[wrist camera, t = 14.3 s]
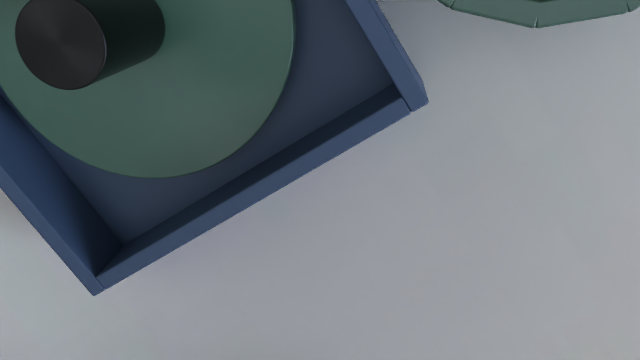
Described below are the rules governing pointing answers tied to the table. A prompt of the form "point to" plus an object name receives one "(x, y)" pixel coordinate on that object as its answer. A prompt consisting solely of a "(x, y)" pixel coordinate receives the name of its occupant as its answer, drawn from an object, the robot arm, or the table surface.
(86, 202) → the tray
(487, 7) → the pot
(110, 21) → the lid
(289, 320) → the table surface
